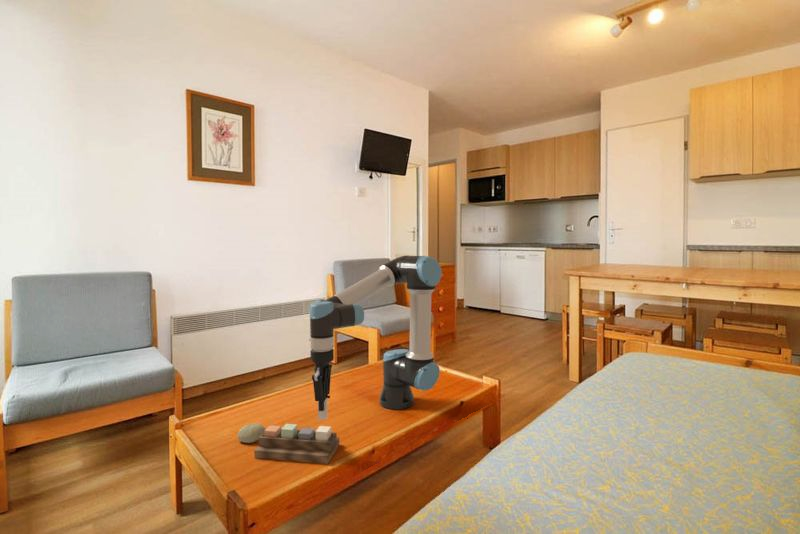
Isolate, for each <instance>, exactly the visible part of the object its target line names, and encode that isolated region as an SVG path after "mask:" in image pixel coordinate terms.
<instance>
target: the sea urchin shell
mask: <svg viewBox="0 0 800 534" xmlns="http://www.w3.org/2000/svg"><path fill="white" fill-rule="evenodd" d="M265 430H266V428H265V426H264V425H262V424H261V423H258V422H254V423H248V424H245V425H244V426H242V427H241V428H240V430H238V433H237V439H238V440H239V442H241V443H246V444H251V443H255V442H259V440H258V437H259V436H261V435H262V434H263V433H264V431H265Z"/></svg>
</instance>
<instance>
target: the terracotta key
mask: <svg viewBox="0 0 800 534" xmlns="http://www.w3.org/2000/svg"><path fill="white" fill-rule="evenodd" d="M281 429H282V426H281V425H273V424H272V425H269V426H268V427H266V428H265V431H264V437H275V438H277V437H278V435H279V434H280V433H281Z"/></svg>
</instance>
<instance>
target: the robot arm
mask: <svg viewBox="0 0 800 534" xmlns="http://www.w3.org/2000/svg"><path fill="white" fill-rule="evenodd" d="M442 273H443V272H442V267H441V264H440V263H439V262H438V260H437V259H436V258H434V257H432V256H428V255H401V256H399V257H396V258H393V259H392V260H390V261H388V262H386V263H384V264H382V265H380V266H379V268H378V270H376V271H375V272H373V273H371V274H369V275H367V276H365V277H364V278H363V279H361V280H359V281H357V282H356V283H354V284H352V285H350V286H348V287H347V288H345V289H343V290H341V291H340V292H338V293H336V294H334V295H333V296H331V297H329V298H327V299H318V300H316V301H314V302H312V303H311V304H310V306H309V307H310V309H309V323H310V324H309V330H310V333H309V334H310V338H309V340H308V341H309V342H310V349H311V350H310V361H311V363H314V365H315V367H314V373H315V374H313V375H311V379H312V384H313V392H314V393H313V394H314V401H315V402H317V419H318V420H320V421H321V420H322V421H326V420H327V419H328V399H330V398H331V395H330V393H331V392H330V390H331V374H332V368H333V366H332V365H333V364H330V363H331V362H333V361H334V360H335V359H334V358H335V357H334V356H335V353H334V352H335V350H334V347H335V339H334V338H335V337H334V331H335V330H337V329H343V328H349V327H355V326H359V325H361V324H362V323H364V320H365V310H364V308H363V307H362V305H360V303H362V302H364V301H365V300H367V299H368V298H370V297H372V296H374V295H375V294H377V293H378V292H380V291H382V290H383V289H385V288H386V287H393V286H394V285H397V284H406V290H407V291H408V292H409V293H410V297H409V298H410V299H409V300H410V301H409V348H408V349H406V348H405V349H404V348H402V349H393V350H387V351H385V352H384V353H383V358H382V359H383V360H382V369H383V372H382V375H383V377H382V378H383V379H382V380H383V384H382V385H383V386H382V389H381V393H380V395H379V405H380V406H381V407H383V408H385V409H388V410H403V409H408V408H410V407H412V406H413V405H414V404H415V396H414V393H413V390H412V387H413V388H415V389H417V390H421V391H429V390H431V389H432V388H433V387H435V385H436V384H437V382H438V380H439V379H440V378H439V377H440V374H441V372H440V371H441V370H440V367H439V365H438V364H437V363H436V362H435V360H434V359H435V355H434V354H433V352H432V351H431V339H432V337H431V335H432V332H431V329H432V295H433V292H434V291H436V286H437V285H439V283H440V281H441V279H442V276H443V275H442Z"/></svg>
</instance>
